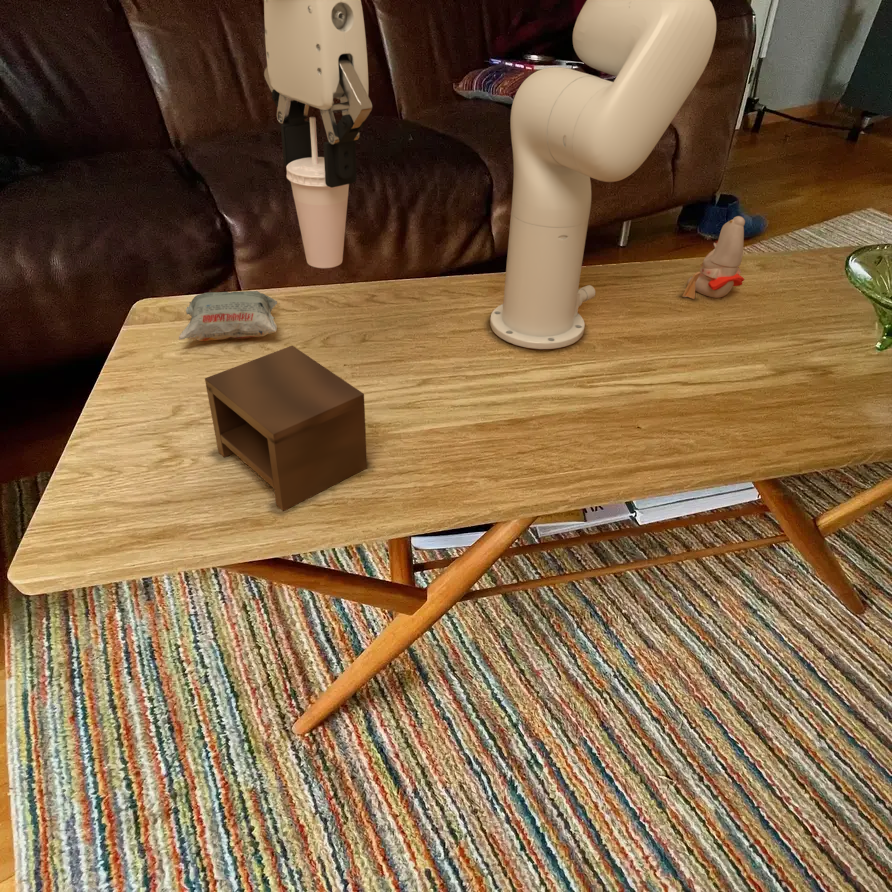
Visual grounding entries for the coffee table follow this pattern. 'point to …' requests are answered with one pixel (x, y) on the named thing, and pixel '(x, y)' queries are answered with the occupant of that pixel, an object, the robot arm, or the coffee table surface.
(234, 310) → the packaged food
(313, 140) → the smoothie
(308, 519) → the coffee table surface
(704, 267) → the figurine
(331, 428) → the box
